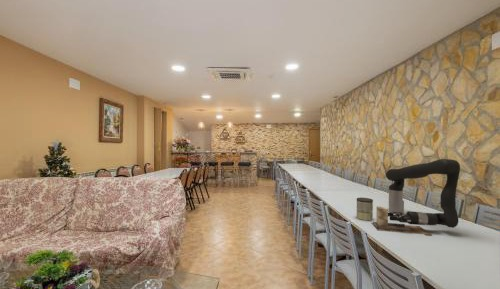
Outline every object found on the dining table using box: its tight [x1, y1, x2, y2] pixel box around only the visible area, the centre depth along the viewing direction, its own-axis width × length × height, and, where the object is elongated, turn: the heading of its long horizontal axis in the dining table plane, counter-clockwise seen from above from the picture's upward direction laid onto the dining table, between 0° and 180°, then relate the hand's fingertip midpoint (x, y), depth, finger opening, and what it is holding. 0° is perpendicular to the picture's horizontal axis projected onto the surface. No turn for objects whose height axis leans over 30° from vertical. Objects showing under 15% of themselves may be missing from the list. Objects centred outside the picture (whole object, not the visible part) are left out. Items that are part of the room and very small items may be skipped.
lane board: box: [371, 221, 433, 237], centre depth 150 cm, size 28×15×2 cm, turn 78°
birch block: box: [375, 206, 389, 227], centre depth 152 cm, size 5×5×12 cm
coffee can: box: [356, 197, 374, 222], centre depth 169 cm, size 10×10×14 cm
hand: (387, 216), depth 151 cm, fingers open, 8 cm apart
